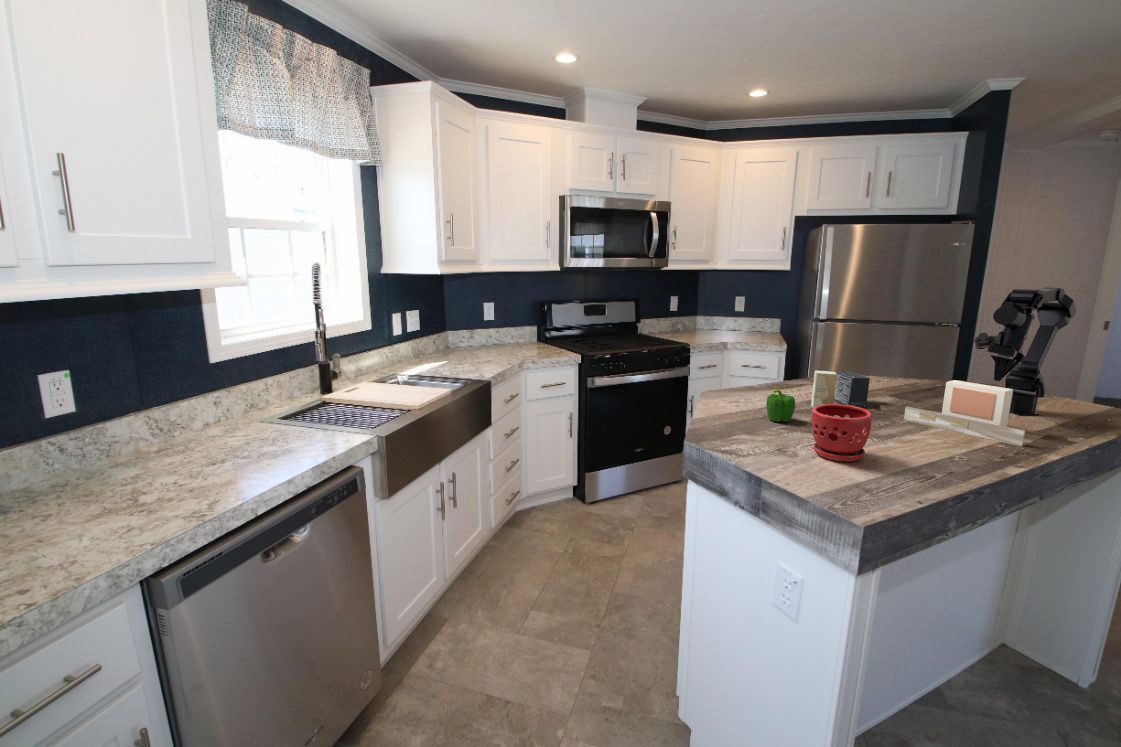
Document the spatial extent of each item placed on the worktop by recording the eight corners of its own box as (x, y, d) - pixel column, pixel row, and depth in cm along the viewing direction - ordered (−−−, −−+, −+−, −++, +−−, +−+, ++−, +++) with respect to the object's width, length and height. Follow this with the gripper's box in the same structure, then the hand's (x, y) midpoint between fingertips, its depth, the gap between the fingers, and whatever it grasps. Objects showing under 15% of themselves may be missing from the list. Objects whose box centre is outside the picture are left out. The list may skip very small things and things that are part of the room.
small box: (867, 408, 177) (871, 377, 175) (848, 408, 177) (851, 377, 175) (851, 400, 187) (854, 371, 185) (832, 400, 187) (835, 371, 185)
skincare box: (812, 408, 176) (815, 372, 174) (810, 405, 180) (813, 370, 178) (833, 409, 175) (837, 373, 172) (831, 406, 179) (834, 371, 176)
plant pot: (815, 443, 142) (819, 400, 139) (871, 454, 134) (876, 408, 131) (801, 457, 132) (806, 411, 130) (860, 469, 124) (866, 420, 121)
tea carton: (952, 417, 159) (958, 379, 157) (1009, 430, 147) (1017, 388, 145) (936, 423, 154) (942, 383, 152) (993, 435, 142) (1001, 392, 140)
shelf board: (932, 415, 167) (934, 398, 166) (1046, 439, 144) (1049, 420, 143) (903, 424, 158) (905, 407, 157) (1020, 452, 135) (1023, 431, 134)
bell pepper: (788, 417, 167) (791, 386, 165) (797, 424, 159) (800, 392, 157) (761, 416, 168) (763, 385, 166) (768, 424, 160) (771, 391, 158)
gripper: (989, 329, 170) (971, 375, 172) (976, 320, 158) (957, 370, 160) (1033, 337, 162) (1014, 385, 164) (1023, 328, 149) (1003, 381, 152)
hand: (996, 380), depth 160 cm, fingers closed
